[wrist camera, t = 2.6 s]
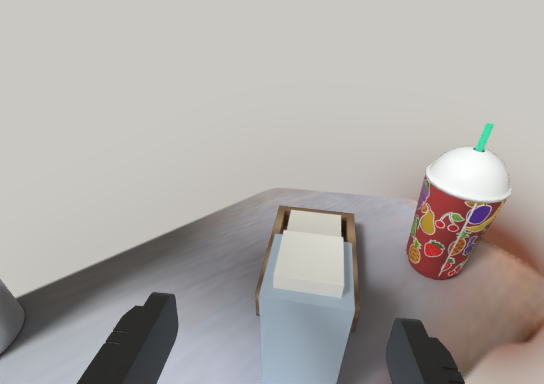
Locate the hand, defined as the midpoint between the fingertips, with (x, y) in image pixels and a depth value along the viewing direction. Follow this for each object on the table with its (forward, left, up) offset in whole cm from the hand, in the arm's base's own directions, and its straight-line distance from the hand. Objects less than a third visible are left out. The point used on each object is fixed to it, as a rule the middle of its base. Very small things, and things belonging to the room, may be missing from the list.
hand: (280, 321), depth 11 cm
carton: (-4, +8, -21) cm, 23 cm away
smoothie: (+2, +31, -21) cm, 37 cm away
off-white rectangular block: (-12, +22, -20) cm, 32 cm away
